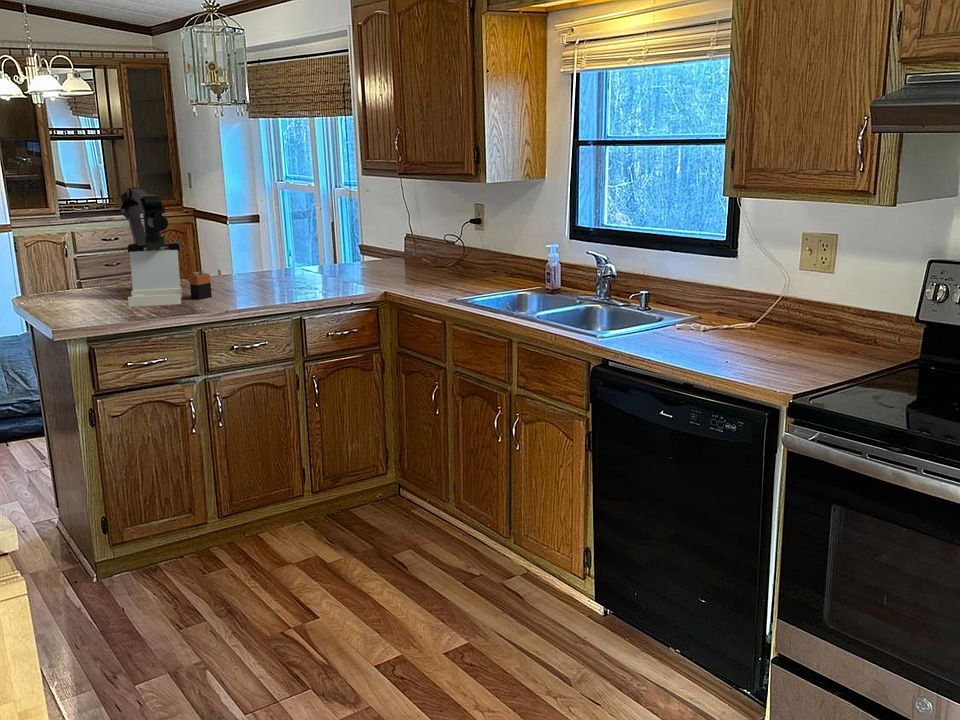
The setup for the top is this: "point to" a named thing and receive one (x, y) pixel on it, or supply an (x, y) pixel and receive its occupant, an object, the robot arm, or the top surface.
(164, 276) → the cover
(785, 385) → the top surface
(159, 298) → the white slat
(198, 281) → the battery
